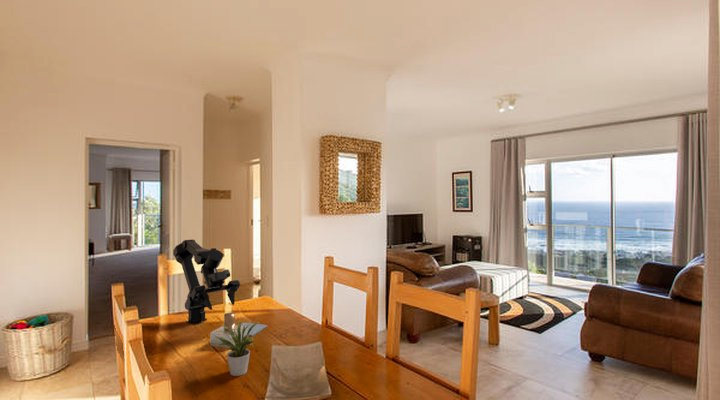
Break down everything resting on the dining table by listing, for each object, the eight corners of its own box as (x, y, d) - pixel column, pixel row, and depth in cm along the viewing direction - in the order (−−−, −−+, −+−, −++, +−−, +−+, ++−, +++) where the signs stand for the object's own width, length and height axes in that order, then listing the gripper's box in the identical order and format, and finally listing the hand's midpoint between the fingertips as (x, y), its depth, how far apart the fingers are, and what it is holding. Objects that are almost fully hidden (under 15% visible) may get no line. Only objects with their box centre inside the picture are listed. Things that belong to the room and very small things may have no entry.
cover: (210, 345, 144) (210, 316, 143) (226, 336, 153) (226, 309, 153) (232, 348, 141) (232, 319, 141) (248, 338, 150) (248, 311, 150)
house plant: (247, 357, 133) (247, 311, 133) (271, 368, 125) (271, 319, 124) (209, 371, 122) (209, 321, 122) (233, 385, 114) (233, 331, 113)
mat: (227, 333, 157) (227, 331, 157) (243, 323, 168) (243, 322, 168) (252, 336, 153) (252, 335, 153) (267, 326, 165) (267, 325, 165)
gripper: (193, 266, 148) (205, 300, 140) (238, 260, 161) (251, 291, 153) (186, 283, 154) (197, 316, 146) (230, 276, 167) (241, 306, 159)
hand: (222, 306), depth 151 cm, fingers open, 9 cm apart
